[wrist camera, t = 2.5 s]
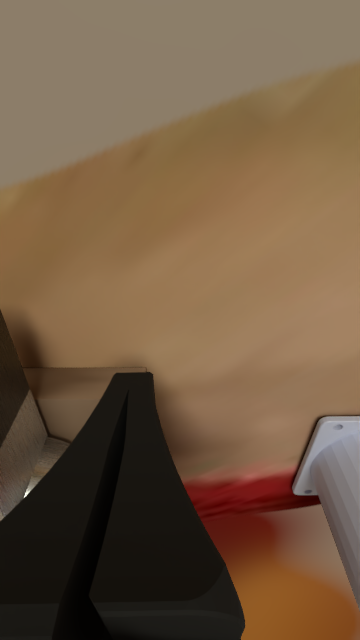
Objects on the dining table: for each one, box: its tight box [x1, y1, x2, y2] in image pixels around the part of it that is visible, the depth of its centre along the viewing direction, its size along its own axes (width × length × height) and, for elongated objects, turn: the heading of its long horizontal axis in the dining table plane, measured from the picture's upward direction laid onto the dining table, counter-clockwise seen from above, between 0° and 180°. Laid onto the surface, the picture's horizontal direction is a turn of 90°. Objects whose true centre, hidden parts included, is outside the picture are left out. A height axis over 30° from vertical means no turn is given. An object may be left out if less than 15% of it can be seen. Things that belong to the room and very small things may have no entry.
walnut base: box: [22, 368, 146, 444], centre depth 18 cm, size 11×10×2 cm
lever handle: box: [0, 310, 70, 521], centre depth 13 cm, size 13×6×4 cm, turn 0°
